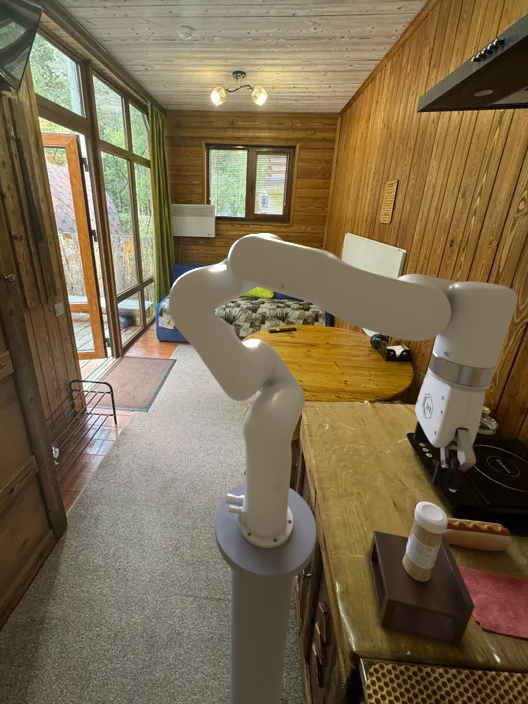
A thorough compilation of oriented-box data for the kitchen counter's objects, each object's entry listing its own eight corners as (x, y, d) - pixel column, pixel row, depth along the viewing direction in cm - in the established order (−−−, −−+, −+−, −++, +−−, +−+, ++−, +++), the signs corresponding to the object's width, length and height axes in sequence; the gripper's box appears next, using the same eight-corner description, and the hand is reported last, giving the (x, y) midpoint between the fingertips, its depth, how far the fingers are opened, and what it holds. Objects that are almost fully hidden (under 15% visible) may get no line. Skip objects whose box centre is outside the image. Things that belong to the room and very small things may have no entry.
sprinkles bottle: (412, 551, 58) (427, 496, 53) (436, 575, 54) (454, 518, 50) (396, 563, 56) (410, 506, 51) (420, 588, 52) (437, 530, 48)
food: (495, 533, 69) (501, 516, 67) (513, 558, 63) (520, 541, 62) (429, 525, 70) (434, 509, 69) (441, 550, 65) (447, 532, 63)
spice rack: (381, 626, 53) (391, 586, 49) (368, 555, 64) (376, 519, 61) (459, 646, 50) (475, 606, 47) (432, 569, 61) (443, 532, 58)
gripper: (414, 342, 53) (394, 425, 59) (456, 395, 37) (424, 502, 43) (462, 348, 52) (438, 432, 57) (528, 405, 36) (485, 515, 41)
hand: (432, 462), depth 50 cm, fingers open, 9 cm apart
